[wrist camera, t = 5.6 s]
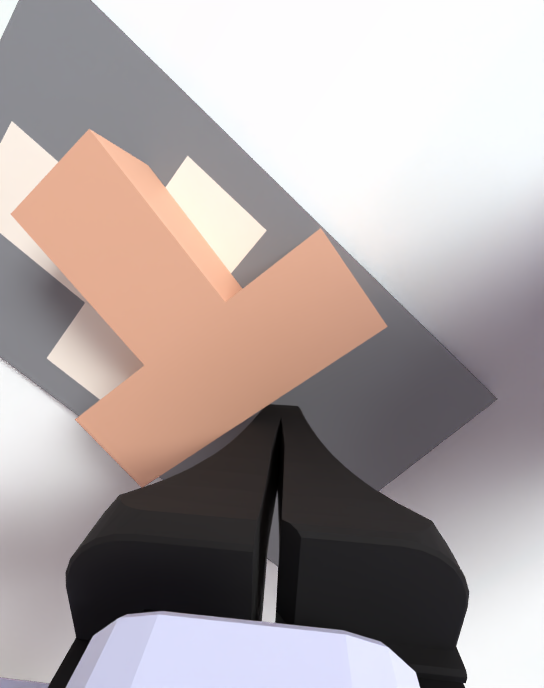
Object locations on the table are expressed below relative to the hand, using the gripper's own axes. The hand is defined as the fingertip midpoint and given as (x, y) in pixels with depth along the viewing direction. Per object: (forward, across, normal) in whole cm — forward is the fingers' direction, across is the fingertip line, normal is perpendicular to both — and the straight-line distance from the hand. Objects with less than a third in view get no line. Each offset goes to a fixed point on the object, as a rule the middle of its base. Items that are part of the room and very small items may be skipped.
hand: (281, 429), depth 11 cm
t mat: (+1, +4, -3) cm, 5 cm away
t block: (+1, +3, -5) cm, 6 cm away
